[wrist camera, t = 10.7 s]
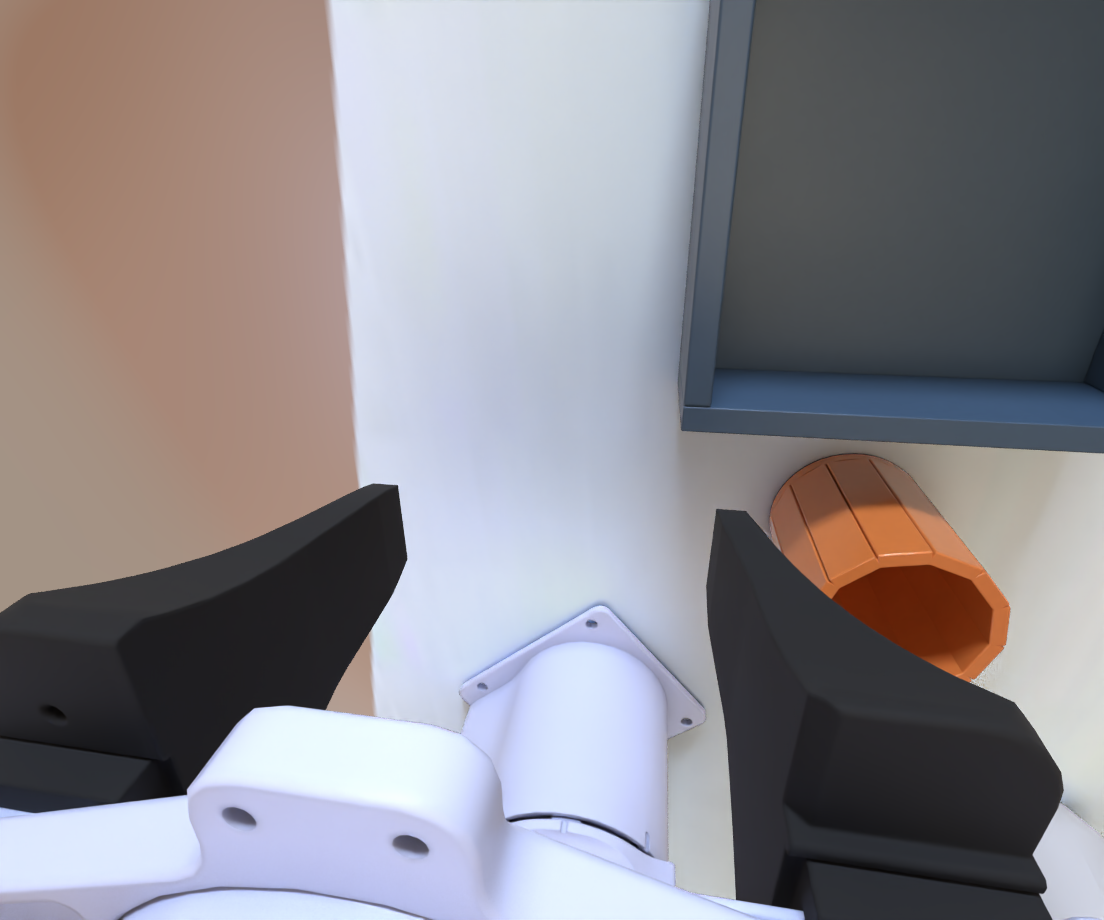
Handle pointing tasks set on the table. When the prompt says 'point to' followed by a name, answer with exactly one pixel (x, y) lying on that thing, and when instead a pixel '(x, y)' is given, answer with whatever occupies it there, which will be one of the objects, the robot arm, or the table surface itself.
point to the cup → (891, 561)
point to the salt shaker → (1072, 867)
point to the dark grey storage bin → (899, 224)
